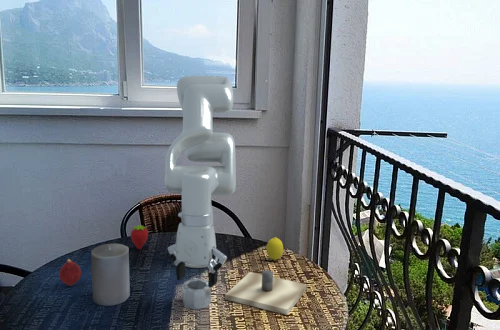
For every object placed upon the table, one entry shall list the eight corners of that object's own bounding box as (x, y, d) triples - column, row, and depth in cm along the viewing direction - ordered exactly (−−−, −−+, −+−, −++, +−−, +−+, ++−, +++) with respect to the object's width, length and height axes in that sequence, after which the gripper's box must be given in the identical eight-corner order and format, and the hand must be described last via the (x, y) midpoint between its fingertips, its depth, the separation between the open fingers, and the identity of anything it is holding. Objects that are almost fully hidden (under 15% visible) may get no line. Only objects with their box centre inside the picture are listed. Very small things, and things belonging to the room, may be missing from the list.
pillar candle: (88, 294, 126) (85, 243, 123) (122, 285, 132) (120, 236, 128) (100, 310, 118) (98, 255, 115) (136, 299, 124) (134, 247, 121)
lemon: (281, 264, 149) (282, 241, 147) (264, 262, 150) (265, 239, 148) (283, 257, 154) (284, 235, 152) (267, 256, 155) (268, 233, 153)
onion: (86, 283, 132) (84, 257, 131) (70, 292, 127) (69, 265, 126) (71, 279, 135) (69, 253, 133) (55, 287, 130) (53, 261, 128)
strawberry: (148, 244, 163) (148, 217, 161) (148, 253, 155) (147, 224, 153) (131, 245, 162) (130, 218, 160) (130, 253, 154) (129, 225, 152)
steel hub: (178, 305, 121) (178, 287, 120) (192, 294, 127) (192, 277, 126) (201, 311, 118) (201, 293, 117) (214, 299, 125) (214, 282, 124)
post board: (225, 299, 125) (225, 277, 124) (249, 276, 139) (250, 256, 138) (287, 314, 118) (288, 291, 116) (306, 289, 132) (307, 268, 131)
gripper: (160, 218, 118) (161, 281, 121) (218, 227, 111) (218, 294, 114) (176, 211, 125) (177, 271, 128) (233, 220, 118) (232, 282, 121)
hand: (196, 281), depth 121 cm, fingers open, 9 cm apart
